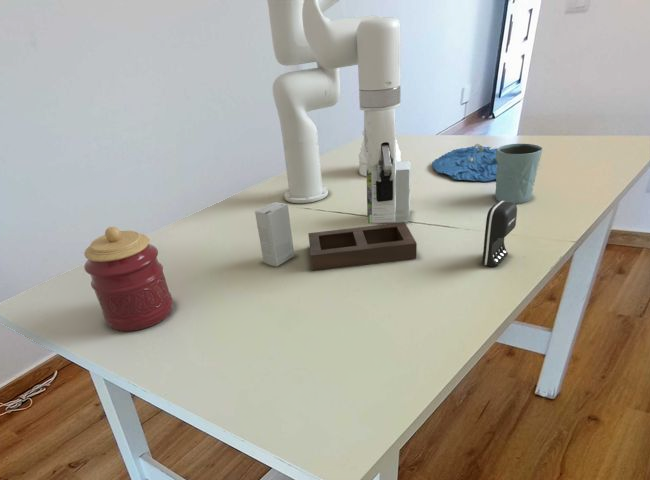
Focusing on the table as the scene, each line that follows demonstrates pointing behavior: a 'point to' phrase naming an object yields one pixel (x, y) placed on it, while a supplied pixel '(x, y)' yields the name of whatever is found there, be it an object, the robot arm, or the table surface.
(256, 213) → the cosmetic box
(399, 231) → the rack
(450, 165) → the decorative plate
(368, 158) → the robot arm
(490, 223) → the battery charger
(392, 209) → the syrup box
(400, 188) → the white packaging box
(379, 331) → the table surface
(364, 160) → the honey pot
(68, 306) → the table surface
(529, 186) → the green cup
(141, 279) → the kitchen canister
